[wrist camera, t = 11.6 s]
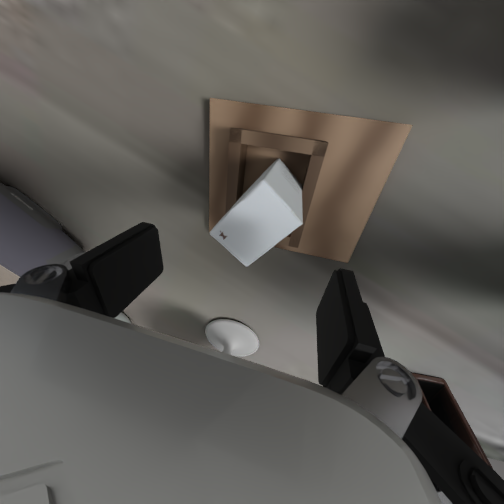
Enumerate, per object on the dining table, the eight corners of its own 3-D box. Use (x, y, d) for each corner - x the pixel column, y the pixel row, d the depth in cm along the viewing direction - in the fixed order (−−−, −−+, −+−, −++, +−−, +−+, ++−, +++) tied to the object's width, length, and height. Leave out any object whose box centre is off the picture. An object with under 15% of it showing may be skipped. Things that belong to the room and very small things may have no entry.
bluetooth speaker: (-27, 180, 36) (-126, 195, 28) (-27, 139, 32) (-144, 143, 23) (84, 265, 42) (29, 298, 34) (98, 240, 37) (39, 272, 29)
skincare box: (267, 216, 26) (245, 269, 16) (244, 192, 25) (205, 233, 15) (304, 184, 23) (305, 224, 13) (279, 155, 22) (260, 176, 12)
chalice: (231, 304, 38) (197, 389, 26) (277, 347, 42) (266, 439, 30) (190, 327, 45) (146, 403, 33) (232, 362, 49) (208, 442, 36)
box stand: (407, 125, 20) (429, 124, 16) (346, 258, 28) (352, 276, 25) (214, 99, 22) (197, 93, 19) (212, 229, 31) (200, 242, 27)
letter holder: (444, 377, 36) (512, 495, 25) (402, 422, 47) (436, 521, 35) (384, 365, 38) (419, 470, 26) (356, 411, 49) (373, 502, 37)
